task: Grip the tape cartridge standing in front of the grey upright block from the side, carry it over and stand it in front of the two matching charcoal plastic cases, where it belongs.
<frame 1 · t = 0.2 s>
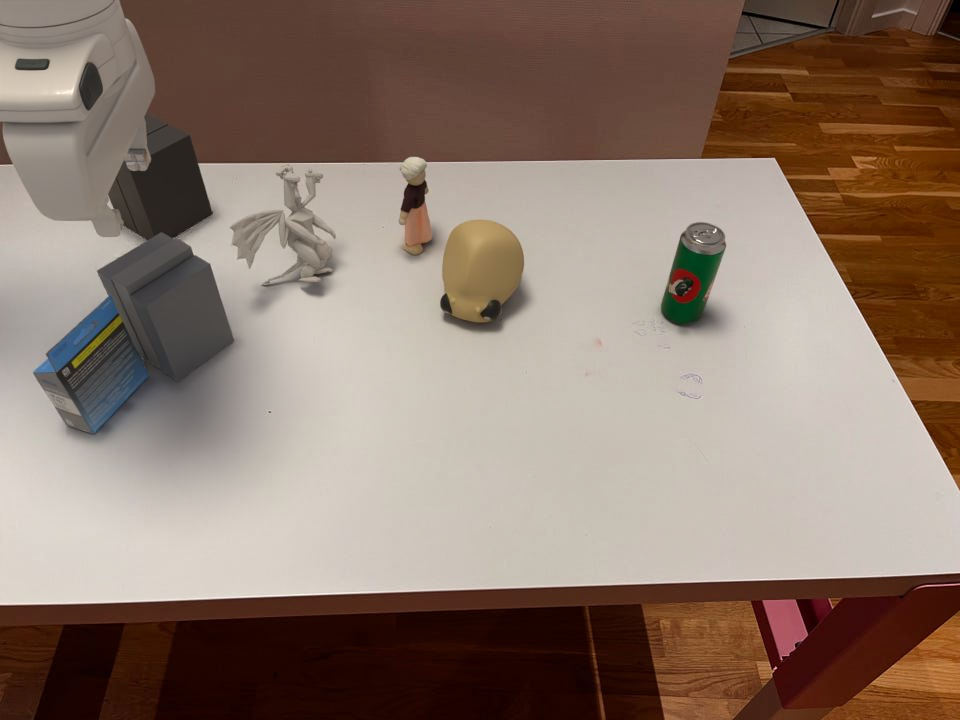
hand: (127, 197, 65), 23 cm above the table, tool pointing down, fingers open, 8 cm apart
matching cases: (166, 218, 100), on the table
tan toy animal: (479, 299, 91), on the table
tape cartridge: (109, 401, 79), on the table
dragon figurine: (304, 269, 94), on the table
soda can: (680, 313, 91), on the table
grandmother figurine: (418, 242, 98), on the table
grey upright block: (184, 345, 84), on the table
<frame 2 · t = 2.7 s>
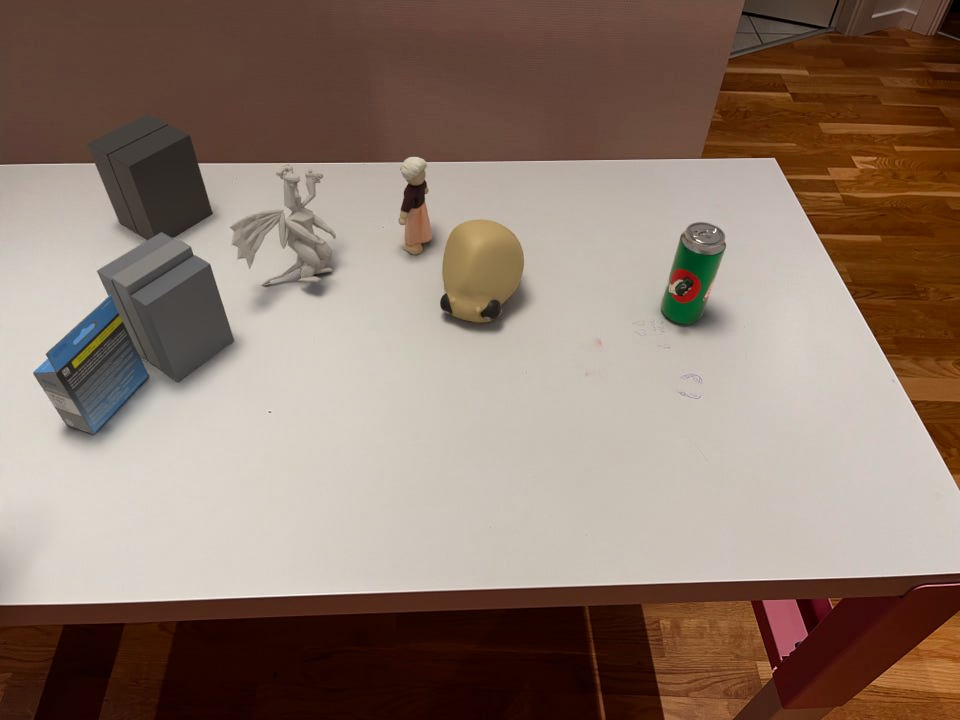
nothing on the table moved.
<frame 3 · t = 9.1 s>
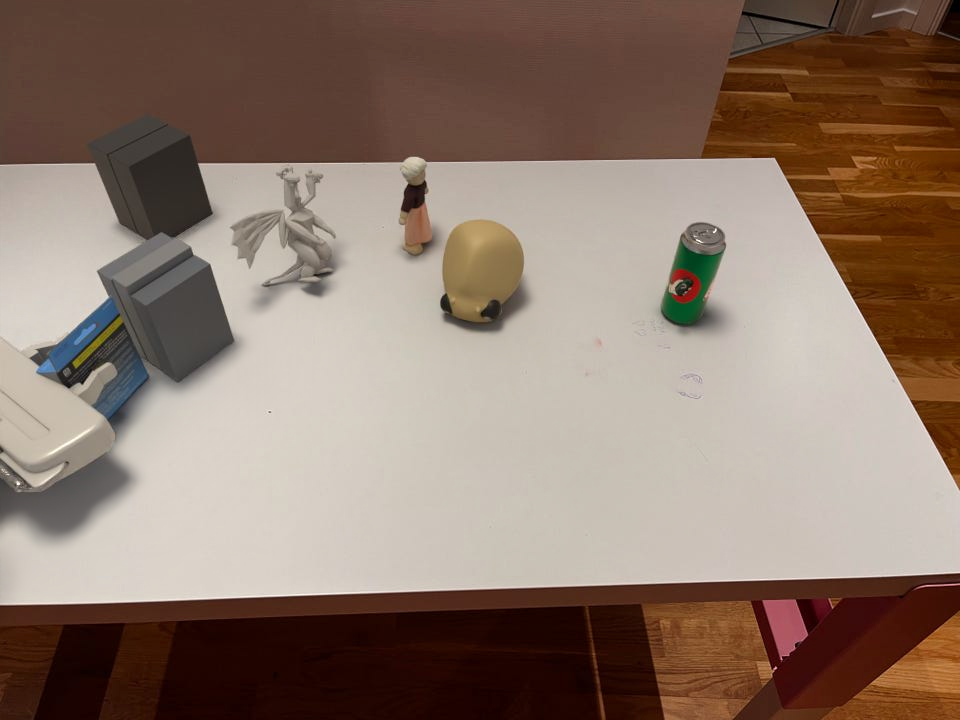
hand: (93, 352, 75), 7 cm above the table, tool horizontal, fingers closed on tape cartridge, 4 cm apart
tape cartridge: (109, 401, 79), on the table, touching gripper
everything else where it was.
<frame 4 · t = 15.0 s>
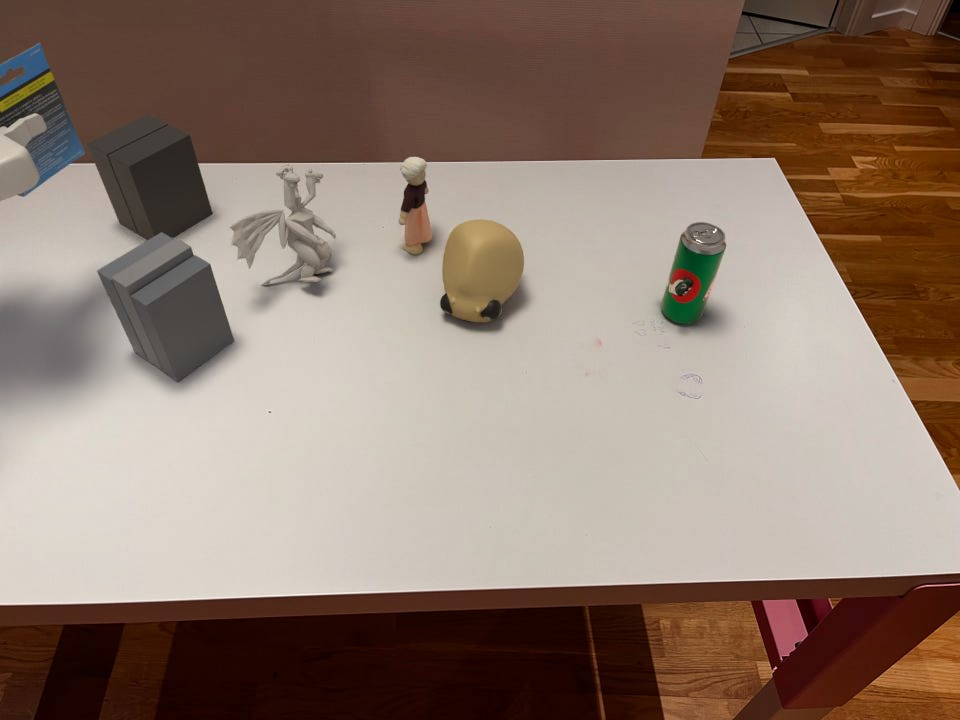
hand: (23, 109, 73), 24 cm above the table, tool horizontal, fingers closed on tape cartridge, 4 cm apart
tape cartridge: (43, 173, 78), point 17 cm above the table, touching gripper
everything else where it was.
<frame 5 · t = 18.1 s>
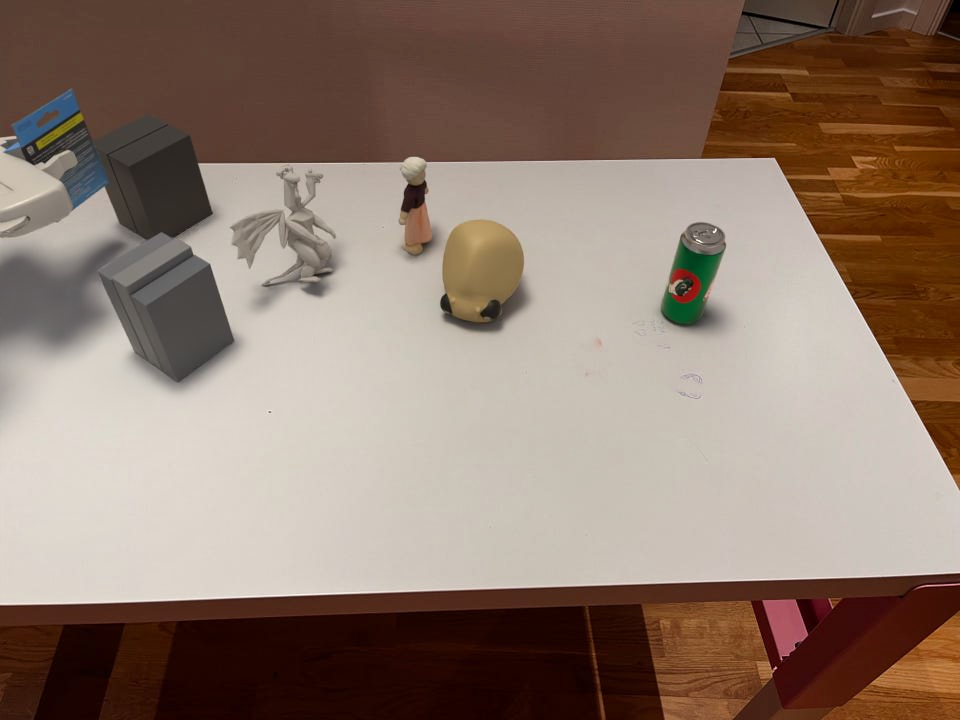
hand: (57, 146, 83), 16 cm above the table, tool horizontal, fingers closed on tape cartridge, 4 cm apart
tape cartridge: (73, 200, 88), point 9 cm above the table, touching gripper
everything else where it was.
when the fingers open (7 cm above the table, at t = 20.9 s): tape cartridge stays where it is, on the table.
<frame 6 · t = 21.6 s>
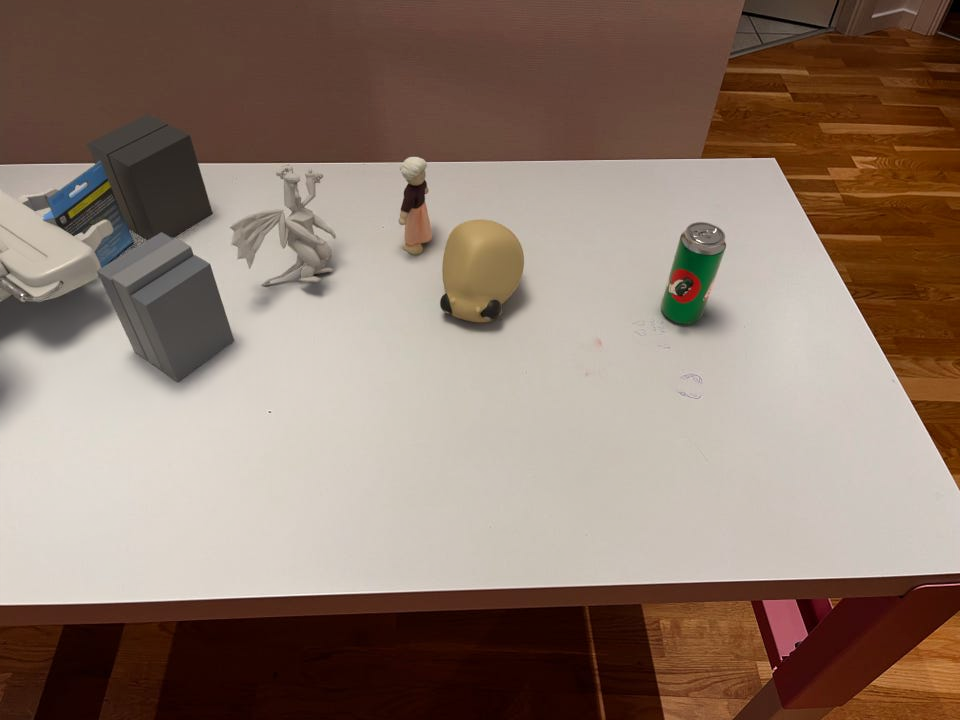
hand: (84, 208, 90), 7 cm above the table, tool horizontal, fingers open, 8 cm apart
tape cartridge: (100, 259, 94), on the table
everything else where it was.
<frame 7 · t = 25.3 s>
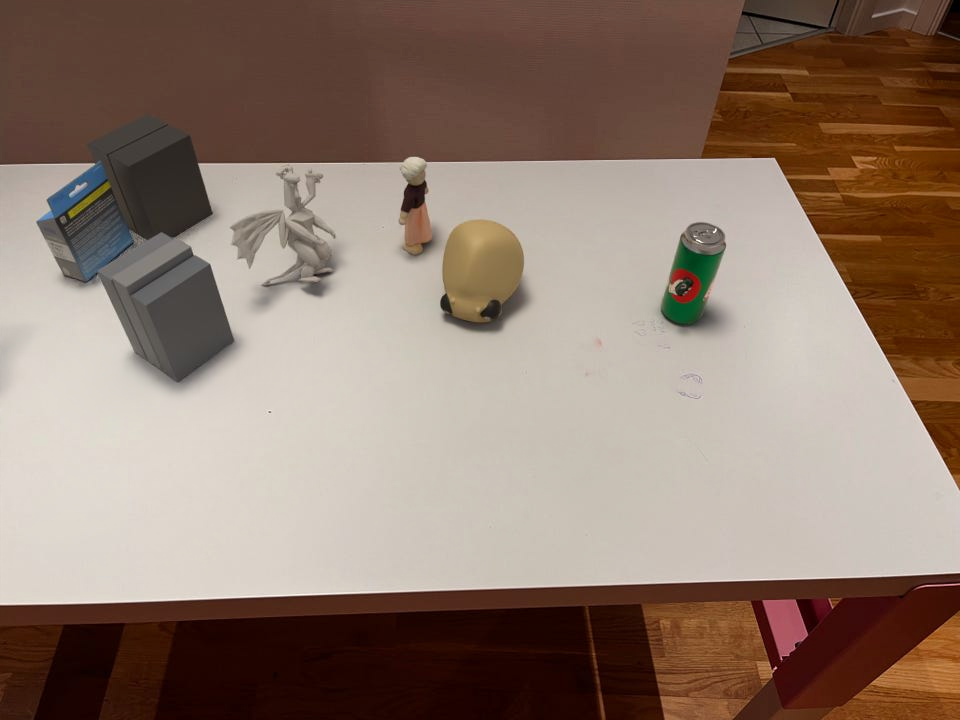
nothing on the table moved.
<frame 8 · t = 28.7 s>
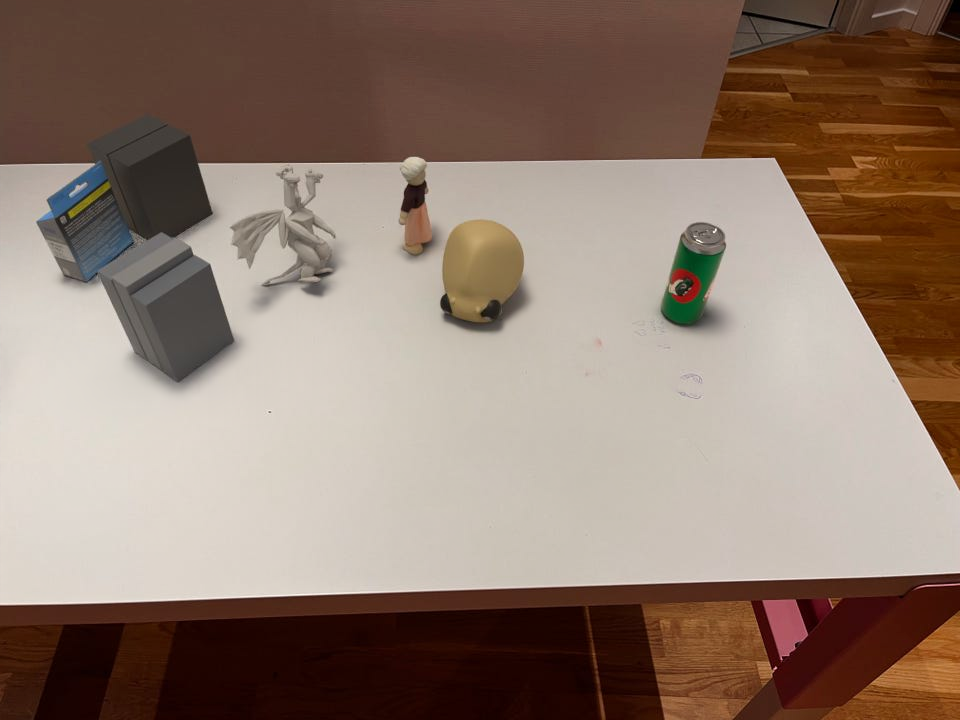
nothing on the table moved.
at the end: tape cartridge 0.2 cm from the target spot on the table beside the matching cases, on the table; tape cartridge tilted 0°; the gripper is holding nothing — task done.
